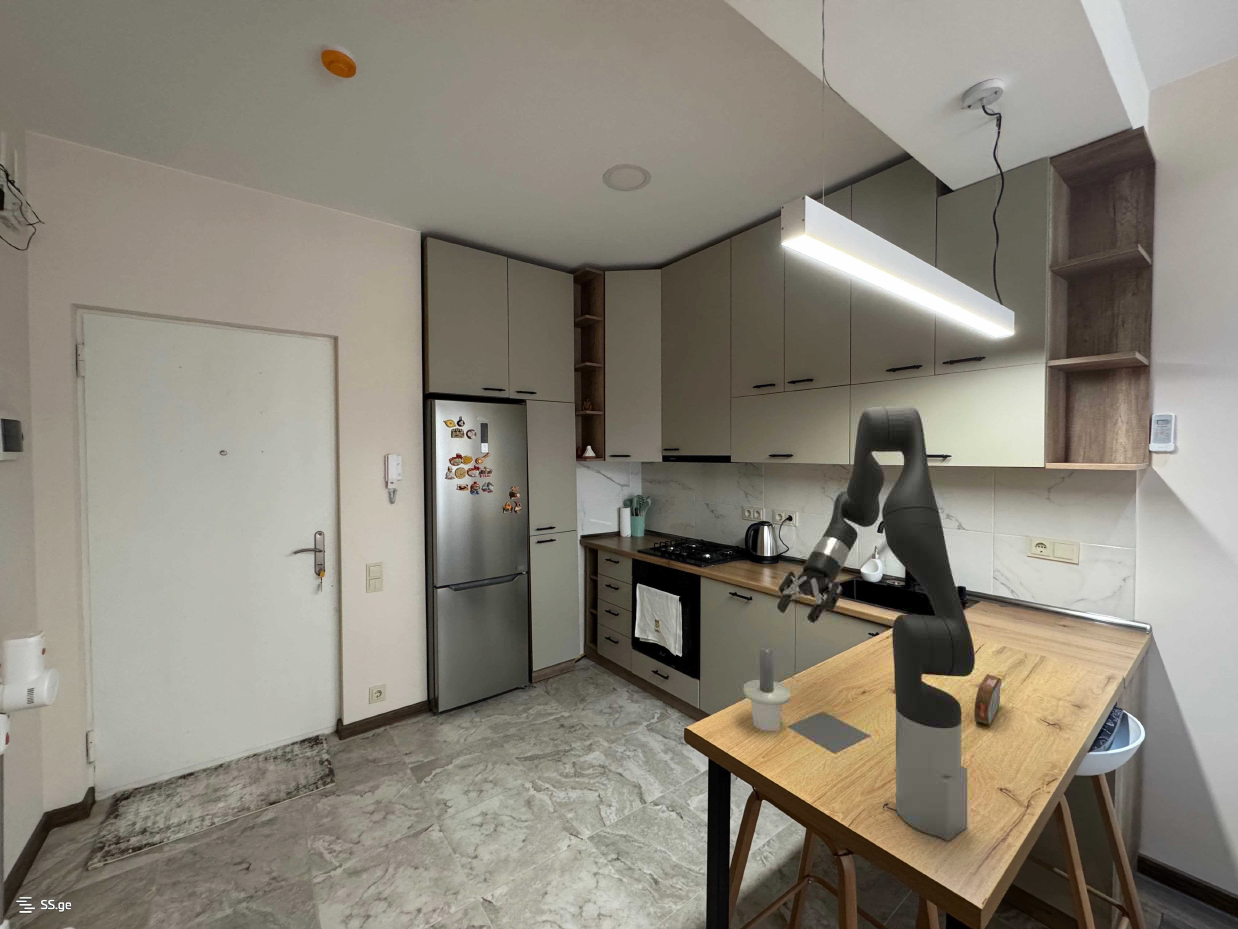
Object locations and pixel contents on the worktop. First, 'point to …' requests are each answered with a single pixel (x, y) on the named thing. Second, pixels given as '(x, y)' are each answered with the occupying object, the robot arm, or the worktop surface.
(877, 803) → the worktop surface
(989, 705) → the tin
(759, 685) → the peg on round base
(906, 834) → the worktop surface
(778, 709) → the light grey cylinder
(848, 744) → the mat
